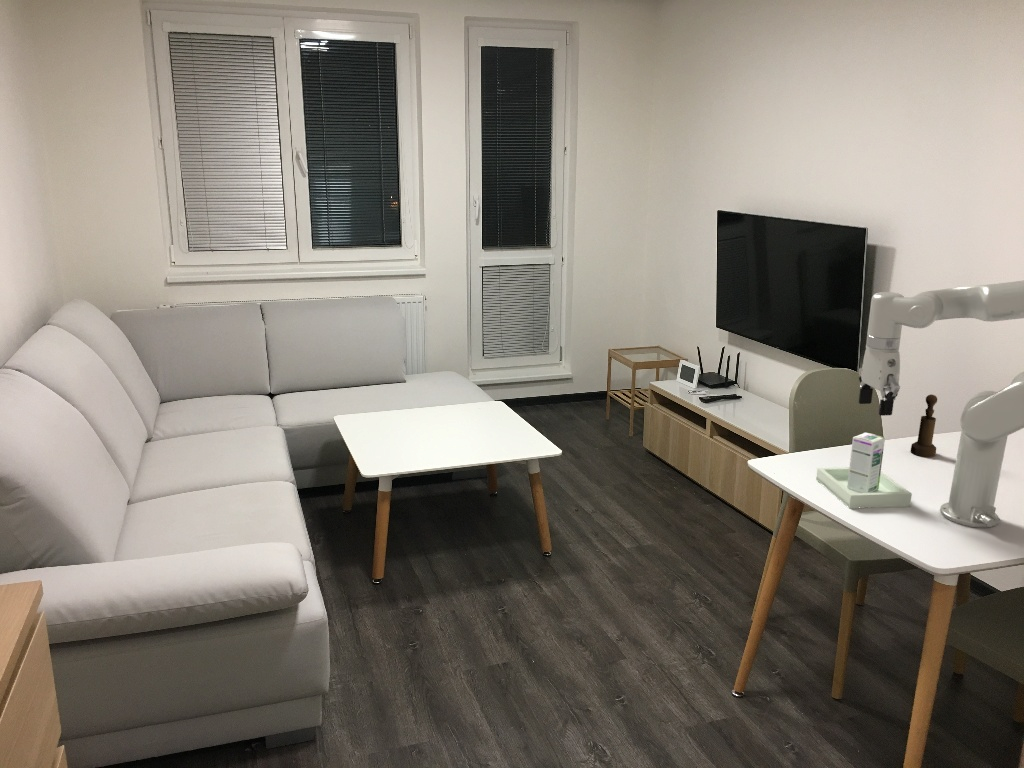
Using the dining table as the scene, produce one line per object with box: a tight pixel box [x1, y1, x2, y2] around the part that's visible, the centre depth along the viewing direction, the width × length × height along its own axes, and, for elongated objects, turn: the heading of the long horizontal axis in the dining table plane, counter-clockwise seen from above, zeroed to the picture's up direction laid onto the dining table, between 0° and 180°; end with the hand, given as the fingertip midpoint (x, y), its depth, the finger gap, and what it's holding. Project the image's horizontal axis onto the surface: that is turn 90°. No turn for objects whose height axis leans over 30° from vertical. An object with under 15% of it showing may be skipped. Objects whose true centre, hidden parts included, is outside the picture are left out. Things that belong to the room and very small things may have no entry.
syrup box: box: [847, 432, 886, 493], centre depth 211 cm, size 6×6×14 cm
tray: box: [815, 466, 913, 509], centre depth 213 cm, size 18×16×4 cm
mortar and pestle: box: [910, 394, 938, 458], centre depth 239 cm, size 7×6×18 cm
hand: (874, 409), depth 207 cm, fingers open, 9 cm apart
